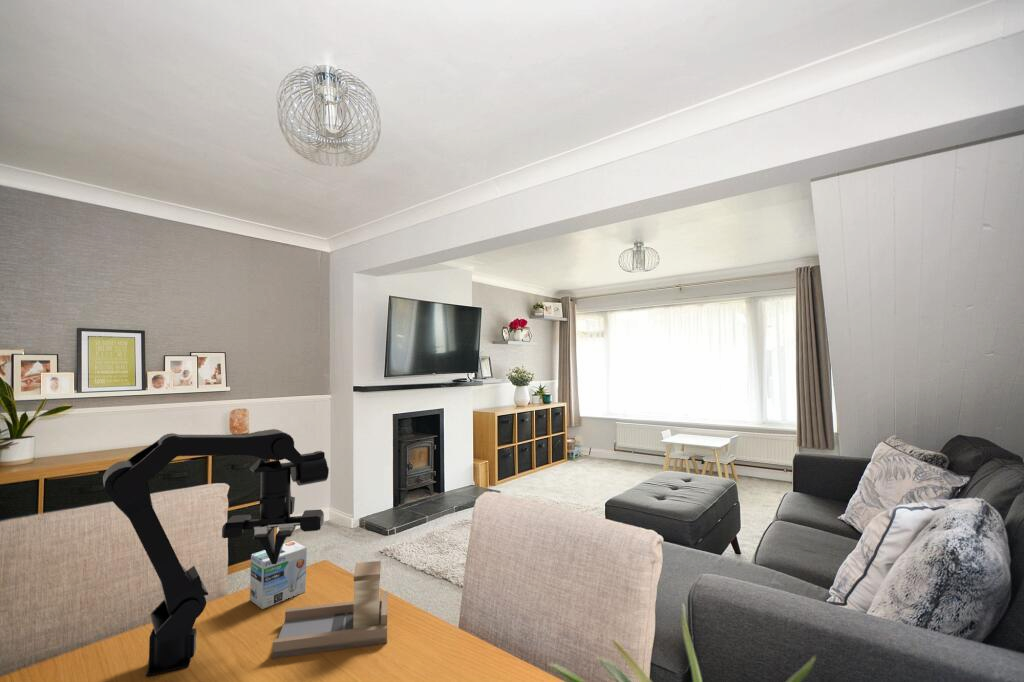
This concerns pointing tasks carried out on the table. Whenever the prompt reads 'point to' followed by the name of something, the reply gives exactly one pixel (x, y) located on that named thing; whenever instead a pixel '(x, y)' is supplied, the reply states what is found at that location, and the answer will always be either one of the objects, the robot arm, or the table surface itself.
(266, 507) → the robot arm
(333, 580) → the table surface
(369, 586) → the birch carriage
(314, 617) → the box
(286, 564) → the light bulb box
